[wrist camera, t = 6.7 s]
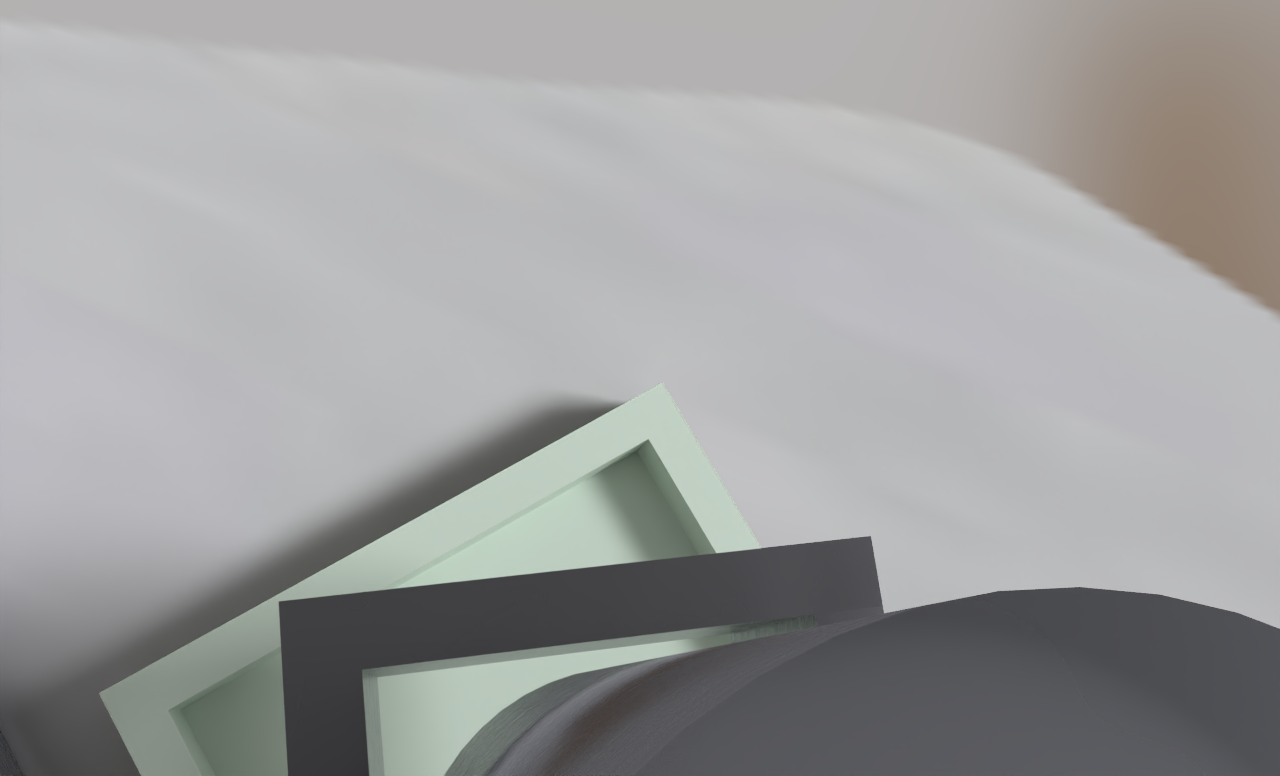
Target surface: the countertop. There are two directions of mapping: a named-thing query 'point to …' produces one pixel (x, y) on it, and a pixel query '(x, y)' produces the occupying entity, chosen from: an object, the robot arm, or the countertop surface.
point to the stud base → (7, 760)
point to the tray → (442, 553)
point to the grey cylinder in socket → (796, 675)
